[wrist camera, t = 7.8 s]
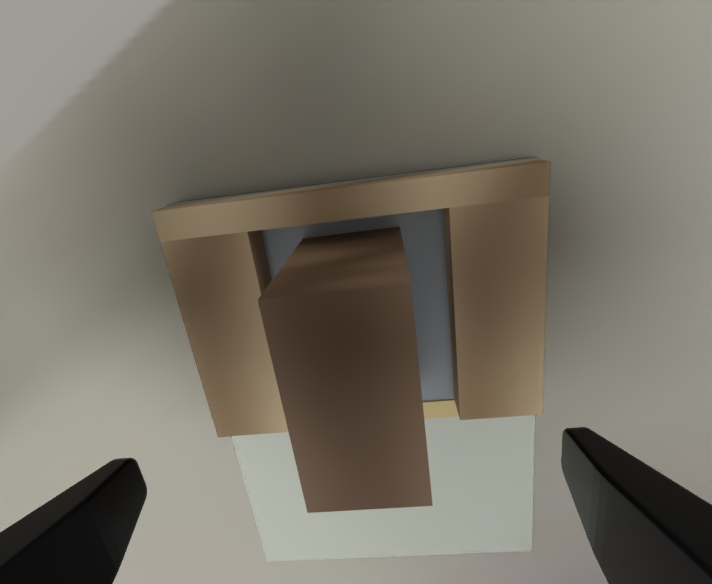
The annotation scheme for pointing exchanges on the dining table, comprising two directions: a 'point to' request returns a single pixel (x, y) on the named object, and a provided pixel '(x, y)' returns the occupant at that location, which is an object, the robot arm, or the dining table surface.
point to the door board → (442, 426)
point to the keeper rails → (361, 200)
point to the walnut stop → (350, 371)
